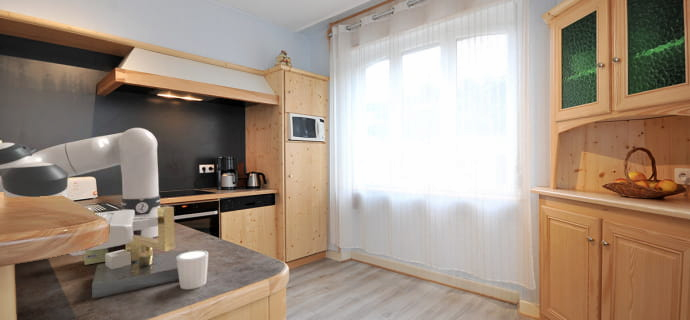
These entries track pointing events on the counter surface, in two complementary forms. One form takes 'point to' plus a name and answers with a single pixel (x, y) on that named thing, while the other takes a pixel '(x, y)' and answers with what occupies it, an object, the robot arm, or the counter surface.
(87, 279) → the counter surface
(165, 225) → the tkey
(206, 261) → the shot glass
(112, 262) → the cover
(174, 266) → the dark grey base plate
